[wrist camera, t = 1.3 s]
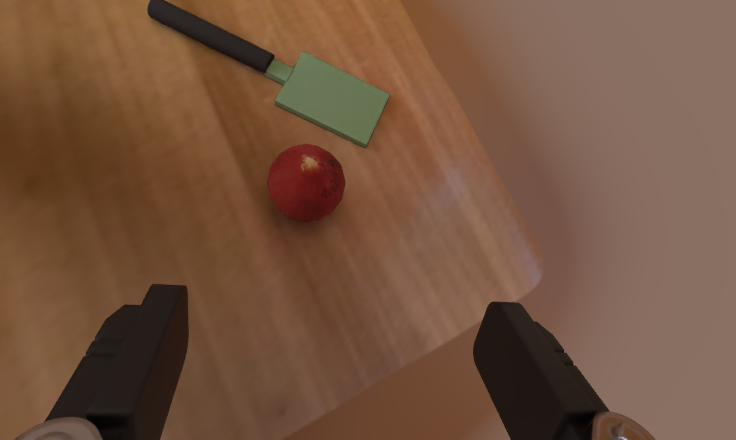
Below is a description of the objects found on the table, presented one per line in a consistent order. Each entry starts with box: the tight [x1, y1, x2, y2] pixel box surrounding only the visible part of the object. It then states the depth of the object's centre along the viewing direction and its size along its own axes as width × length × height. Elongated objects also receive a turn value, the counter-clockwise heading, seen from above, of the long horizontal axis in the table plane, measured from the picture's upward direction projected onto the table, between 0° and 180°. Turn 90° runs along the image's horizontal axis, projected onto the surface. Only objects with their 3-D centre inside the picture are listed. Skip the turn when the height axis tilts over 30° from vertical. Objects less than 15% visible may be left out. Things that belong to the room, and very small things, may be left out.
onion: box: [268, 144, 345, 222], centre depth 32 cm, size 6×6×8 cm
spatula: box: [148, 0, 390, 148], centre depth 38 cm, size 22×6×2 cm, turn 68°
